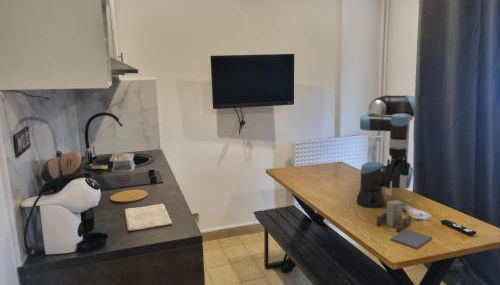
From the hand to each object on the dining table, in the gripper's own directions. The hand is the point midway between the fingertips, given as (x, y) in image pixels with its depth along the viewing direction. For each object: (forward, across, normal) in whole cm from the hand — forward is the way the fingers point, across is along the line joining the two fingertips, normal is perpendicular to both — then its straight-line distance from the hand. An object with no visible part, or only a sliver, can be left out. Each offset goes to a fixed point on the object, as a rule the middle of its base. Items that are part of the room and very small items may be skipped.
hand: (395, 191), depth 181 cm
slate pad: (+18, -9, -13) cm, 23 cm away
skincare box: (+18, 0, 0) cm, 18 cm away
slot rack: (+18, 0, 0) cm, 18 cm away
